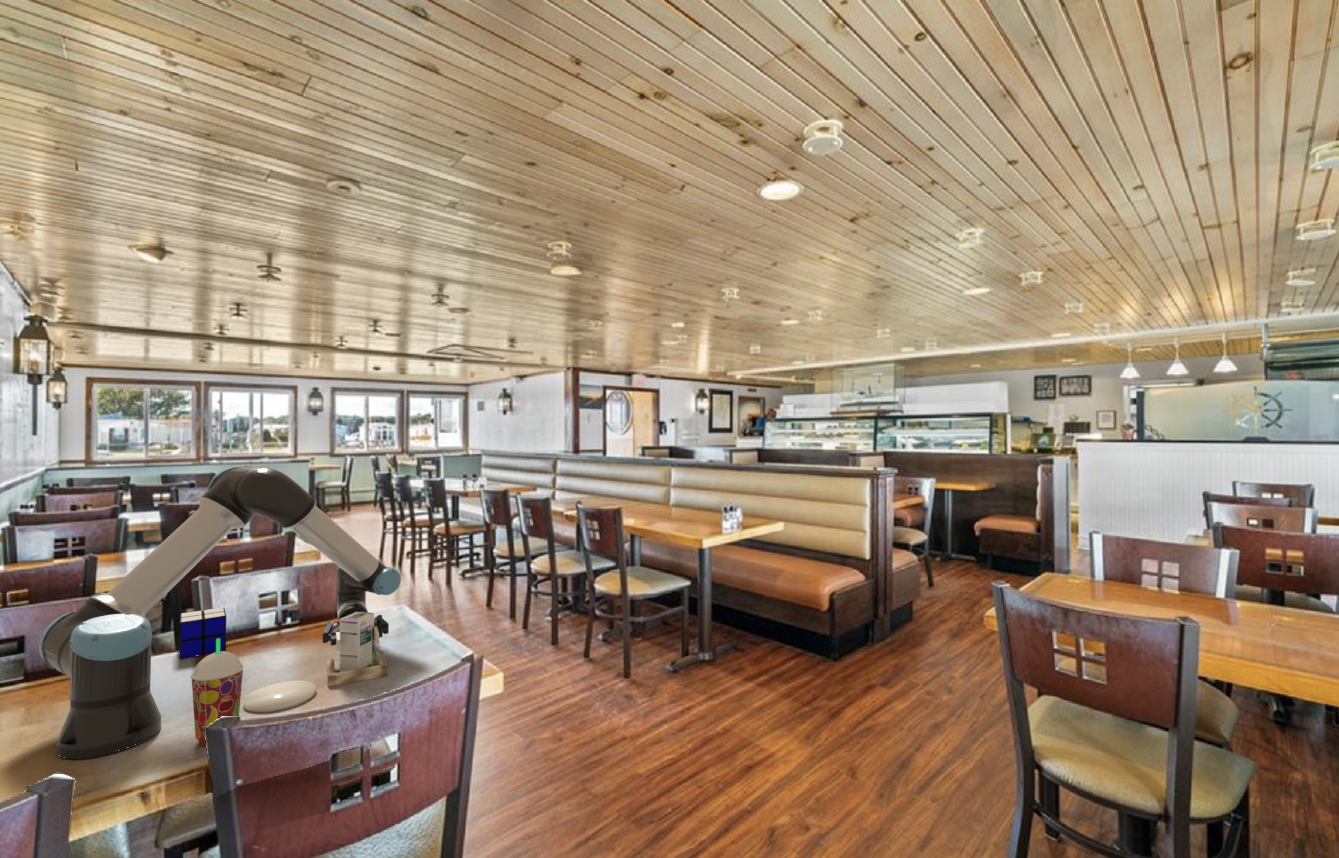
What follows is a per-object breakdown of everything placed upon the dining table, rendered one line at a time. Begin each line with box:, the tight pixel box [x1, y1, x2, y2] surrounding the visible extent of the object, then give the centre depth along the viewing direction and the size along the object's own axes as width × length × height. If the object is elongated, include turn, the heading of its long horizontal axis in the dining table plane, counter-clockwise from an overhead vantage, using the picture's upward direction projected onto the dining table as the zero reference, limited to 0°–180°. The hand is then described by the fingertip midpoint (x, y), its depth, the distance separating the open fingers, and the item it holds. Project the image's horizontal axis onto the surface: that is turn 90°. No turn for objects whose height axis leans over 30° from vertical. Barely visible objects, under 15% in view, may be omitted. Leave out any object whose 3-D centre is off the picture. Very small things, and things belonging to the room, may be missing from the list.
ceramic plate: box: [242, 680, 317, 713], centre depth 137 cm, size 14×14×1 cm
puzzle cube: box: [178, 606, 227, 660], centre depth 165 cm, size 10×10×10 cm
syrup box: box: [339, 611, 375, 672], centre depth 152 cm, size 6×6×14 cm
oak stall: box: [326, 650, 389, 688], centre depth 151 cm, size 13×12×2 cm
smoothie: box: [190, 638, 244, 747], centre depth 119 cm, size 8×8×20 cm
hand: (358, 642), depth 148 cm, fingers closed on syrup box, 8 cm apart
